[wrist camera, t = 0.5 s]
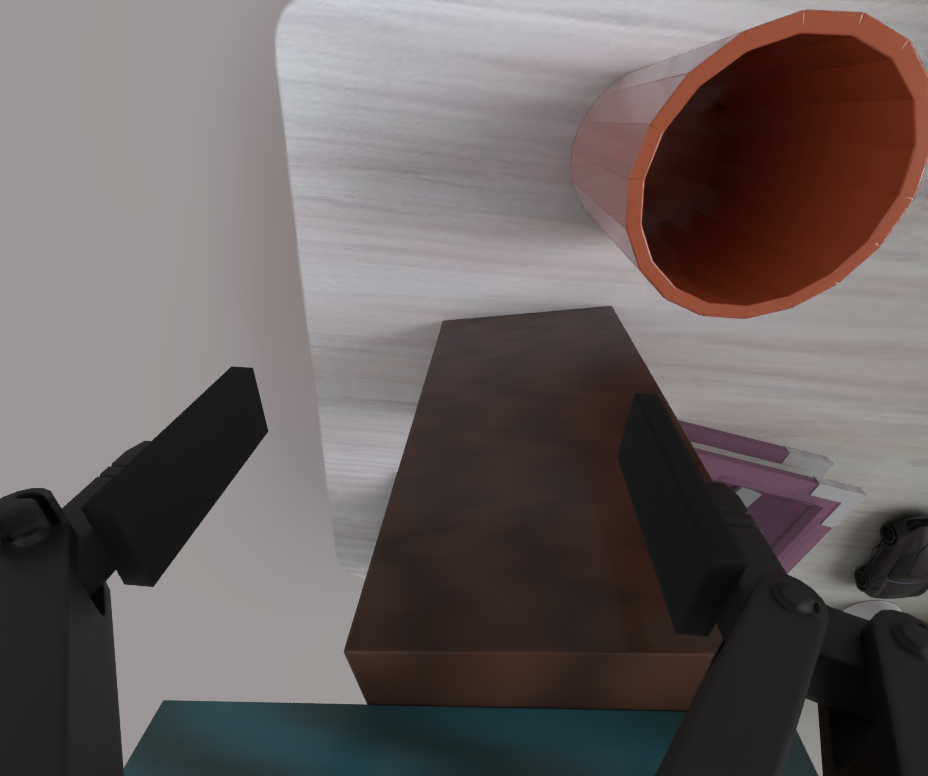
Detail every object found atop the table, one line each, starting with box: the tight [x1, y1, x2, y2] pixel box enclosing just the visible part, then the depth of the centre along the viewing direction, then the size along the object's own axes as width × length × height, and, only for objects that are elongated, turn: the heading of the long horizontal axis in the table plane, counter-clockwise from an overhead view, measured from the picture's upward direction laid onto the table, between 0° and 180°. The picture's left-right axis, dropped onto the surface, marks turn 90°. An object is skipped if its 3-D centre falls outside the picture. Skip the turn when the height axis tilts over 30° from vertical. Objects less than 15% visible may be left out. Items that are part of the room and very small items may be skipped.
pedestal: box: [344, 306, 723, 711], centre depth 28 cm, size 14×10×28 cm
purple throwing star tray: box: [679, 421, 867, 574], centre depth 47 cm, size 25×16×5 cm, turn 166°
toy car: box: [855, 516, 928, 599], centre depth 46 cm, size 6×12×4 cm, turn 3°
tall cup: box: [571, 10, 928, 319], centre depth 24 cm, size 10×10×17 cm
